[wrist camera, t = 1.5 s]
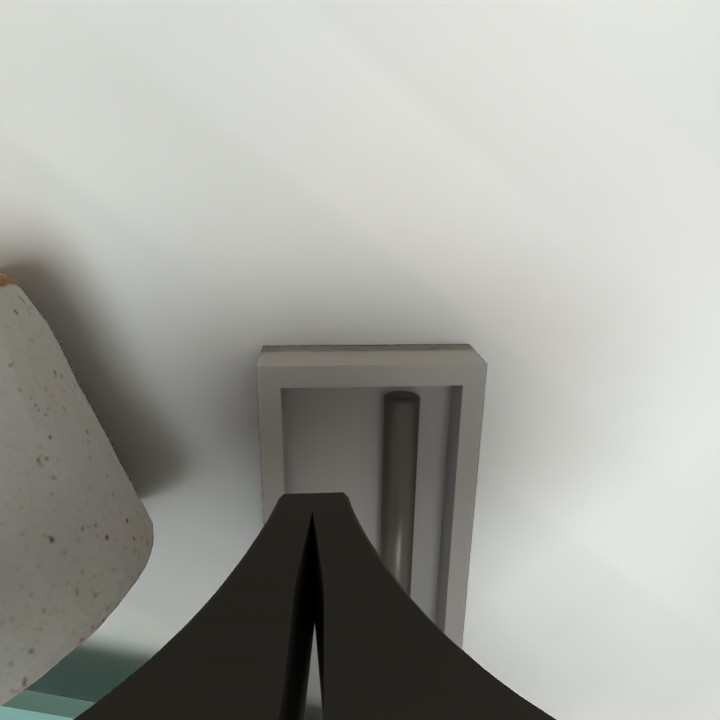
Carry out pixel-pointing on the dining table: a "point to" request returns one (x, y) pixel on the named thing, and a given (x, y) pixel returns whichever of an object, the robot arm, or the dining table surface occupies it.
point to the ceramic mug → (56, 504)
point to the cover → (42, 707)
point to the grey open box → (382, 457)
